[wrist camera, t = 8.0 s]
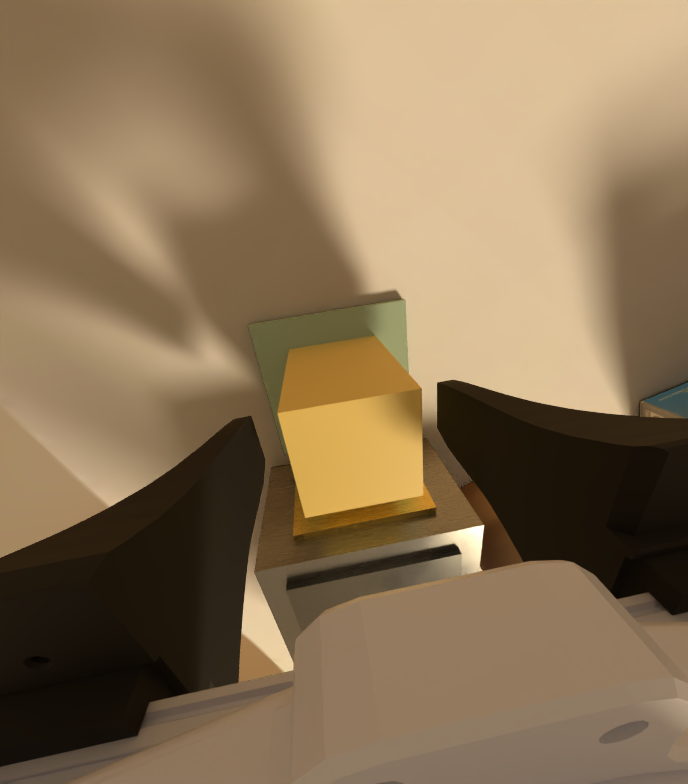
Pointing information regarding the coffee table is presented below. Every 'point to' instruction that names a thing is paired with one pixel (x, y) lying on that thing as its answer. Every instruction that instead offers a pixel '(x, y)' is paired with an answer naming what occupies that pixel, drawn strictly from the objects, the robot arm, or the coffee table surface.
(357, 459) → the ochre block
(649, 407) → the label tape box
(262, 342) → the pad
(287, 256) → the coffee table surface
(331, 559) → the box
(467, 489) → the walnut cylinder
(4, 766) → the robot arm
